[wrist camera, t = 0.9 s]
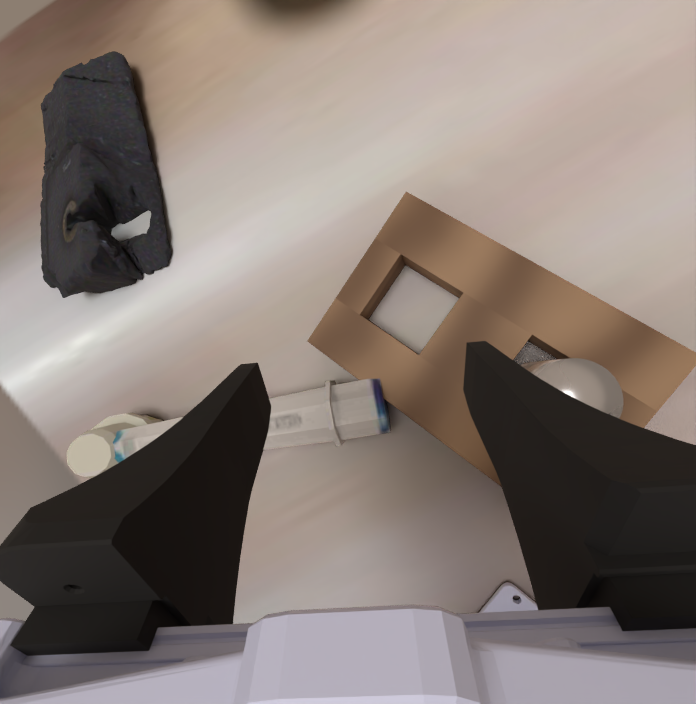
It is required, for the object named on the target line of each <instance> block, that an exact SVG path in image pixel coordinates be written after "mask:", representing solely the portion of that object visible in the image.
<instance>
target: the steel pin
mask: <svg viewBox="0 0 696 704" xmlns="http://www.w3.org/2000/svg"><path fill="white" fill-rule="evenodd" d="M520 366H522V367H523V368H525V369H526V370H528V371H529V372H531V373H532V374H534V375H535V376H537V377H539V378H540V379H542V380H543V381H545V382H547V383H548V384H550V385H552V386H553V387H555V388H557V389H559V390H560V391H562V392H564V393H566V394H568V395H569V396H571V397H573V398H575V399H577V400H579V401H581V402H583V403H585V404H587V405H589V406H591V407H594V408H596V409H598V410H600V411H602V412H605V413H607V414H609V415H612V416H614V417H617V418H620V416H621V413H622V410H623V393H622V390H621V387H620V385H619V383H618V381H617V380H616V378H615V377H614V376H613V375H612V374H611V373H610V372H609V371H608V370H607V369H606V368H604V367H603V366H601V365H599V364H597V363H595V362H592V361H590V360H586V359H580V358H569V359H557V360H546V361H534V362H527V363H523V364H521V365H520Z"/></svg>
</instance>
